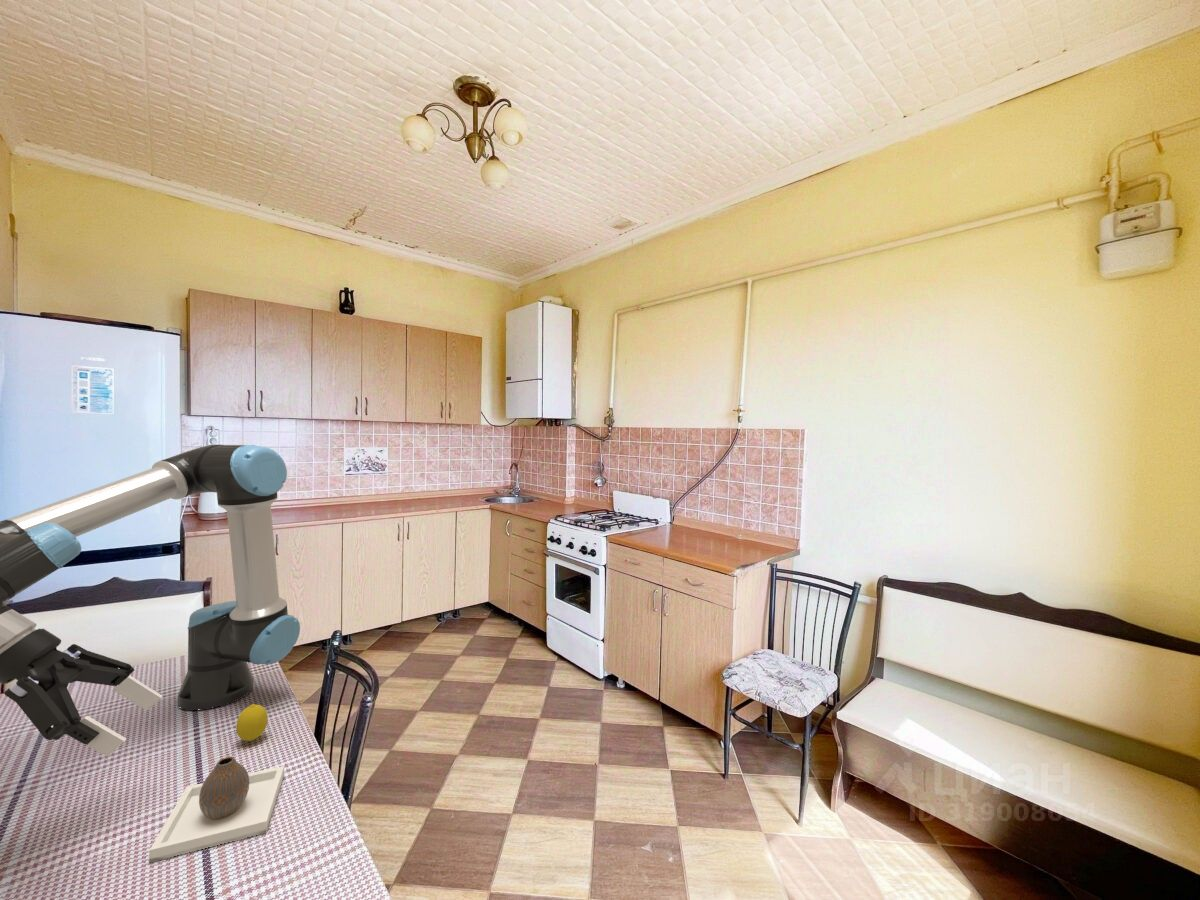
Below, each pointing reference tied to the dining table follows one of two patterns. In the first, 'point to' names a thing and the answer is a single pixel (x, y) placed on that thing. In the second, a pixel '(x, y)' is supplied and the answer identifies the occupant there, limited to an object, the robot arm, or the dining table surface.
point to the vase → (224, 789)
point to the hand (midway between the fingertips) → (137, 724)
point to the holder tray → (200, 832)
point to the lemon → (251, 722)
